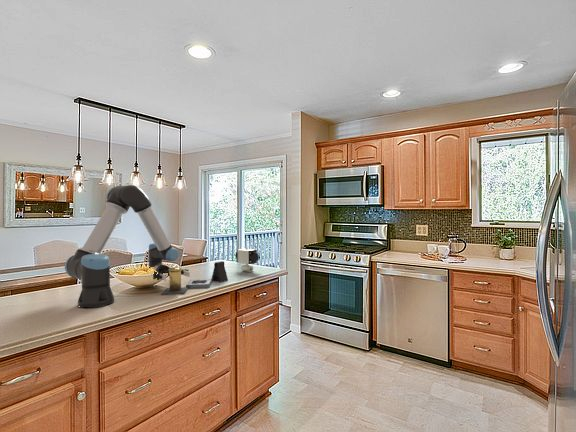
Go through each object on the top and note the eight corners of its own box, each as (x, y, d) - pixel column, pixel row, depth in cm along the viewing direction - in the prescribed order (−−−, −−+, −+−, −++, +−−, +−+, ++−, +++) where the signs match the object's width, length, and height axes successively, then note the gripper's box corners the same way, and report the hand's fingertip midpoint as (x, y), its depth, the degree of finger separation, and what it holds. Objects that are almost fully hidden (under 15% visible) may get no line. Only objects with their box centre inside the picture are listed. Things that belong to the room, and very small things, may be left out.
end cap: (180, 291, 172) (180, 269, 172) (167, 292, 171) (167, 269, 171) (182, 288, 178) (182, 267, 178) (170, 288, 178) (170, 267, 177)
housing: (209, 287, 183) (209, 284, 183) (185, 288, 182) (185, 285, 182) (211, 282, 197) (211, 278, 197) (190, 282, 196) (190, 279, 195)
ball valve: (260, 272, 228) (260, 247, 228) (251, 273, 222) (251, 248, 222) (243, 269, 240) (243, 245, 240) (235, 270, 234) (234, 246, 233)
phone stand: (228, 280, 202) (227, 261, 202) (221, 282, 197) (220, 263, 197) (218, 278, 207) (217, 260, 207) (211, 280, 202) (210, 261, 202)
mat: (184, 294, 169) (184, 292, 169) (161, 295, 168) (161, 293, 168) (188, 288, 181) (188, 287, 181) (166, 289, 180) (166, 288, 180)
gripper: (182, 274, 196) (198, 279, 181) (140, 280, 179) (154, 287, 164) (181, 262, 196) (198, 266, 181) (139, 267, 179) (154, 272, 163)
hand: (177, 276), depth 172 cm, fingers open, 13 cm apart
